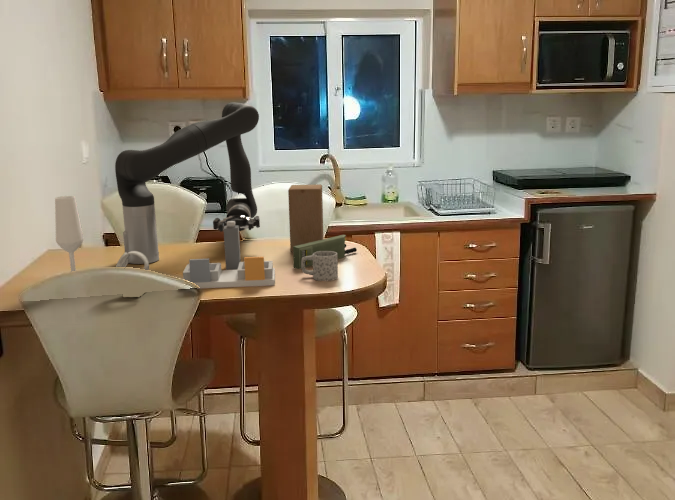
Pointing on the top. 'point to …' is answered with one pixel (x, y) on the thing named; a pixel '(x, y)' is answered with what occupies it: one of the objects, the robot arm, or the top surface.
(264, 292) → the top surface
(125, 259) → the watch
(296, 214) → the wooden block
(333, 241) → the handheld radio
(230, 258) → the plug
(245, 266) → the charging dock
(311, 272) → the mug
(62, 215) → the champagne flute
